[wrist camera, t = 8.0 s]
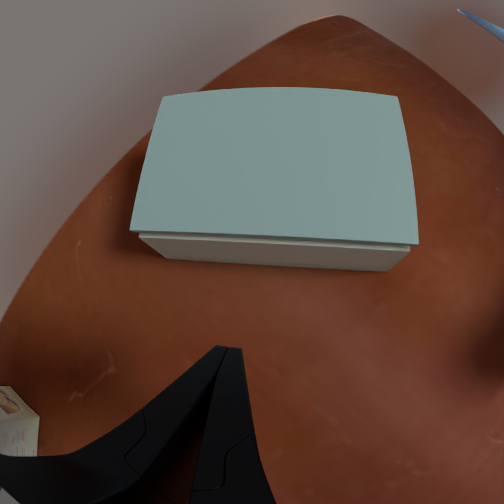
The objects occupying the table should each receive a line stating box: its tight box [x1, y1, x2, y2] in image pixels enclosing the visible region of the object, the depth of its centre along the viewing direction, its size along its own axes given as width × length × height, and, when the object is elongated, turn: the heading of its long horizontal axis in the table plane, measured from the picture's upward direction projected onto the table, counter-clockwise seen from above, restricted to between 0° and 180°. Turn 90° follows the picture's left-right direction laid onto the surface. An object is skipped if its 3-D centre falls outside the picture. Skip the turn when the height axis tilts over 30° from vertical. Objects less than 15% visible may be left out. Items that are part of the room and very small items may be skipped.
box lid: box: [130, 87, 419, 246], centre depth 18 cm, size 11×18×1 cm, turn 84°
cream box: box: [139, 233, 410, 272], centre depth 22 cm, size 11×18×5 cm, turn 84°
